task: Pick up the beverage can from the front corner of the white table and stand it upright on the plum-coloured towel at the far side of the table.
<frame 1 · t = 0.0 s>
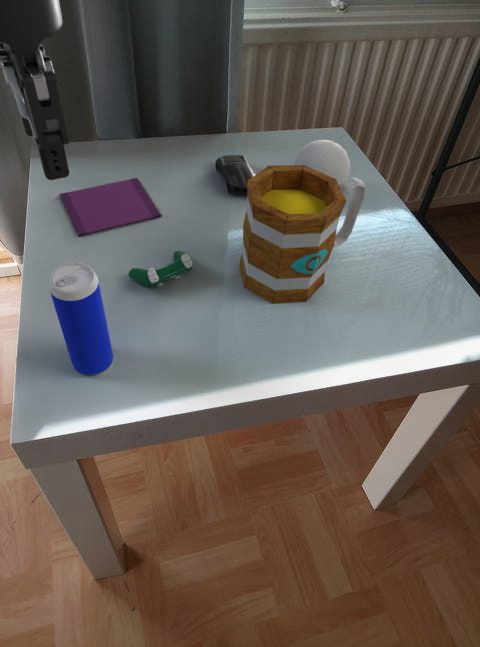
hand: (47, 154, 50), 25 cm above the table, tool pointing down, fingers open, 8 cm apart
beverage can: (93, 362, 65), on the table
ball: (316, 194, 93), on the table
mug: (296, 268, 80), on the table
gaming controller: (164, 278, 76), on the table
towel: (109, 206, 86), on the table
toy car: (236, 181, 94), on the table
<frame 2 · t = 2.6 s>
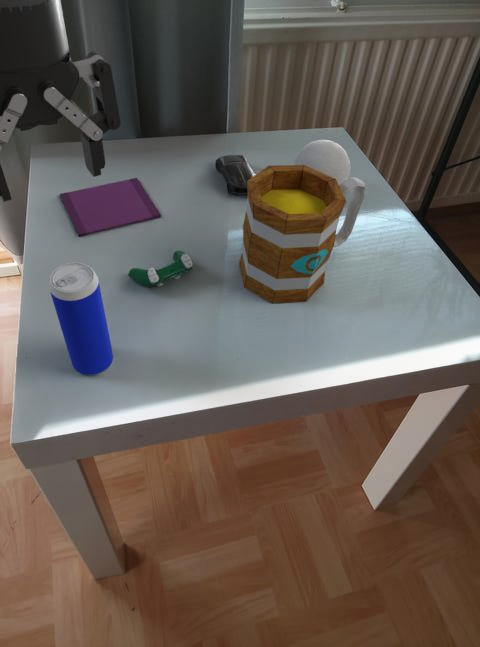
hand: (50, 184, 47), 25 cm above the table, tool pointing down, fingers open, 8 cm apart
nothing on the table moved.
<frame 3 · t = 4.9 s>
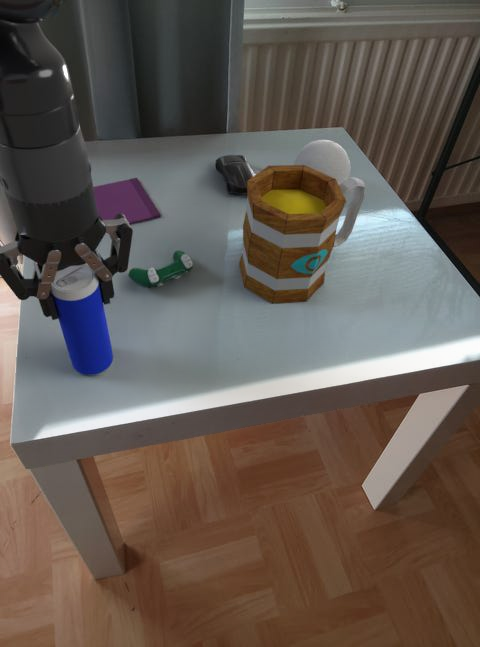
hand: (79, 306, 57), 10 cm above the table, tool pointing down, fingers closed on beverage can, 5 cm apart
beverage can: (93, 362, 65), on the table, touching gripper
everything else where it was.
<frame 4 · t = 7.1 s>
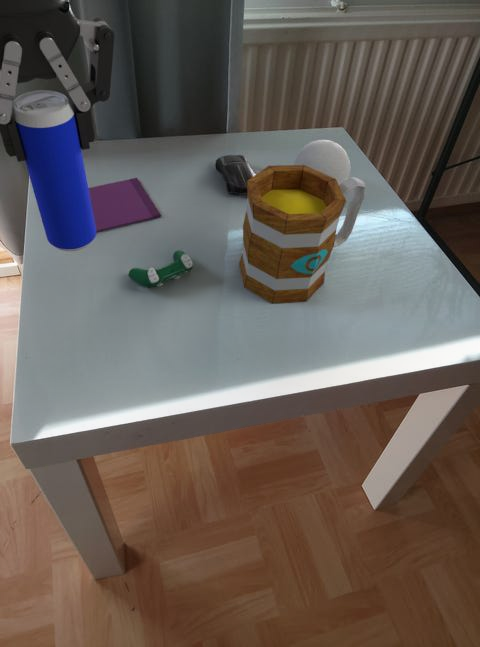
hand: (52, 150, 47), 27 cm above the table, tool pointing down, fingers closed on beverage can, 5 cm apart
beverage can: (73, 239, 55), point 17 cm above the table, touching gripper
everything else where it was.
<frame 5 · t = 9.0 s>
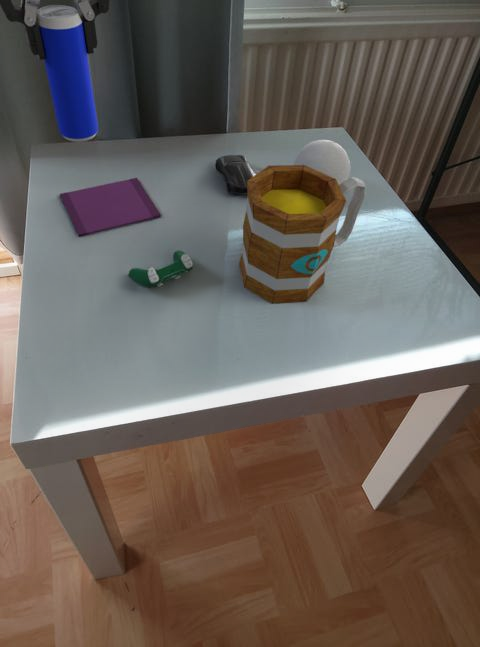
hand: (65, 53, 62), 27 cm above the table, tool pointing down, fingers closed on beverage can, 5 cm apart
beverage can: (79, 135, 70), point 17 cm above the table, touching gripper
everything else where it was.
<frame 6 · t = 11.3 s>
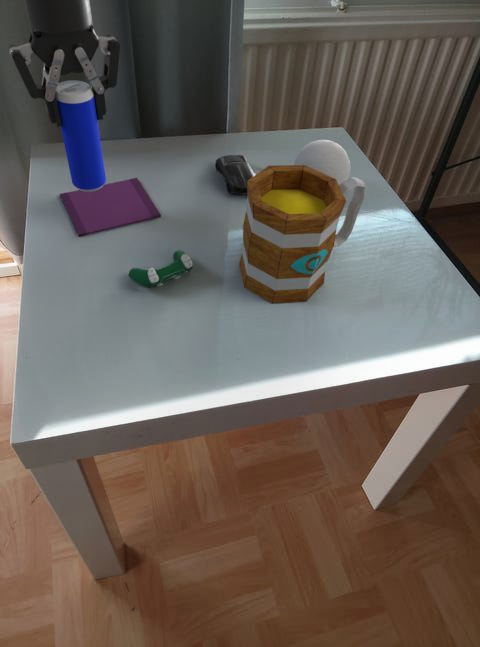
hand: (78, 120, 71), 17 cm above the table, tool pointing down, fingers closed on beverage can, 5 cm apart
beverage can: (89, 184, 79), point 6 cm above the table, touching gripper
everything else where it was.
when the fingers open (11 cm above the table, at t = 13.2 s): beverage can stays where it is, resting on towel.
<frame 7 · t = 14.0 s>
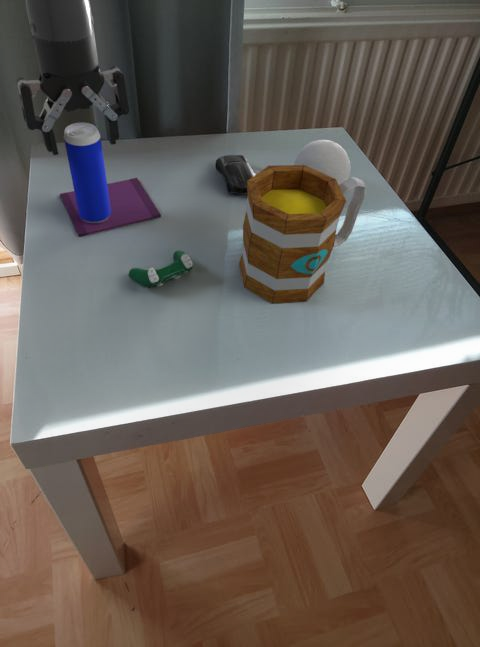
hand: (83, 147, 75), 13 cm above the table, tool pointing down, fingers open, 8 cm apart
beverage can: (95, 216, 84), resting on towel
everything else where it was.
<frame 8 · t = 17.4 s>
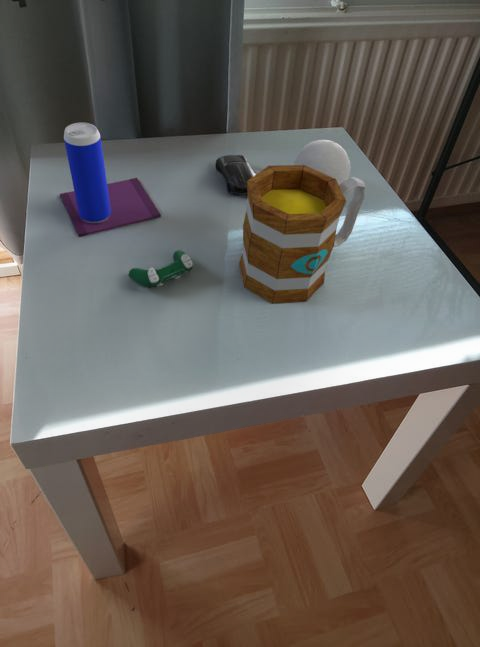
hand: (62, 1, 54), 34 cm above the table, tool pointing down, fingers open, 8 cm apart
nothing on the table moved.
at the end: beverage can inside the target area on the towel (3.7 cm from its centre), point 0.2 cm above the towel's base; beverage can tilted 0°; the gripper is holding nothing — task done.
